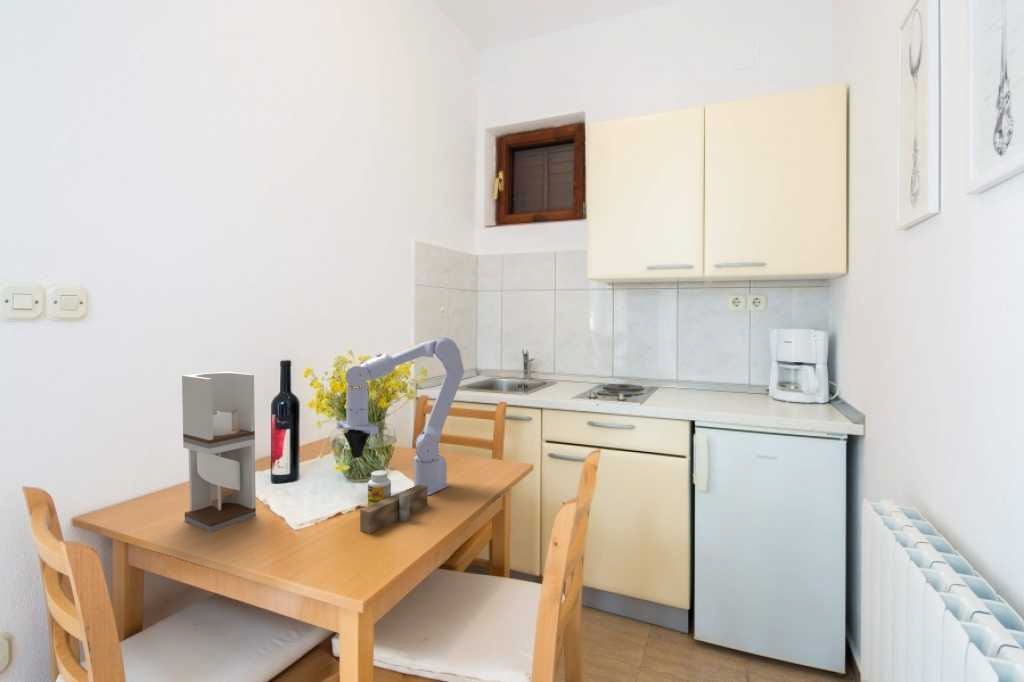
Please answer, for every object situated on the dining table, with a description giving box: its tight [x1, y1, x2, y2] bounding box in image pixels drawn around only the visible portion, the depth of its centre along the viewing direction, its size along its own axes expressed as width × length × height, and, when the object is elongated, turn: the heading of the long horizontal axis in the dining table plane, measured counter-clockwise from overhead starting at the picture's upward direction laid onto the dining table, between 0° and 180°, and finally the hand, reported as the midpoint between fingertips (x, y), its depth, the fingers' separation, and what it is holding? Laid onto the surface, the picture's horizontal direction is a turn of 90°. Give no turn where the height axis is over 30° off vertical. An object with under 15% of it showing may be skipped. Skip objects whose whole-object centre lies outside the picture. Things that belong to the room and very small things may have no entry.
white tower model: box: [181, 371, 257, 533], centre depth 115 cm, size 11×11×35 cm
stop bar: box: [359, 484, 429, 535], centre depth 117 cm, size 20×5×6 cm, turn 149°
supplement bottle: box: [367, 469, 392, 506], centre depth 120 cm, size 6×6×10 cm
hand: (357, 456), depth 133 cm, fingers closed
